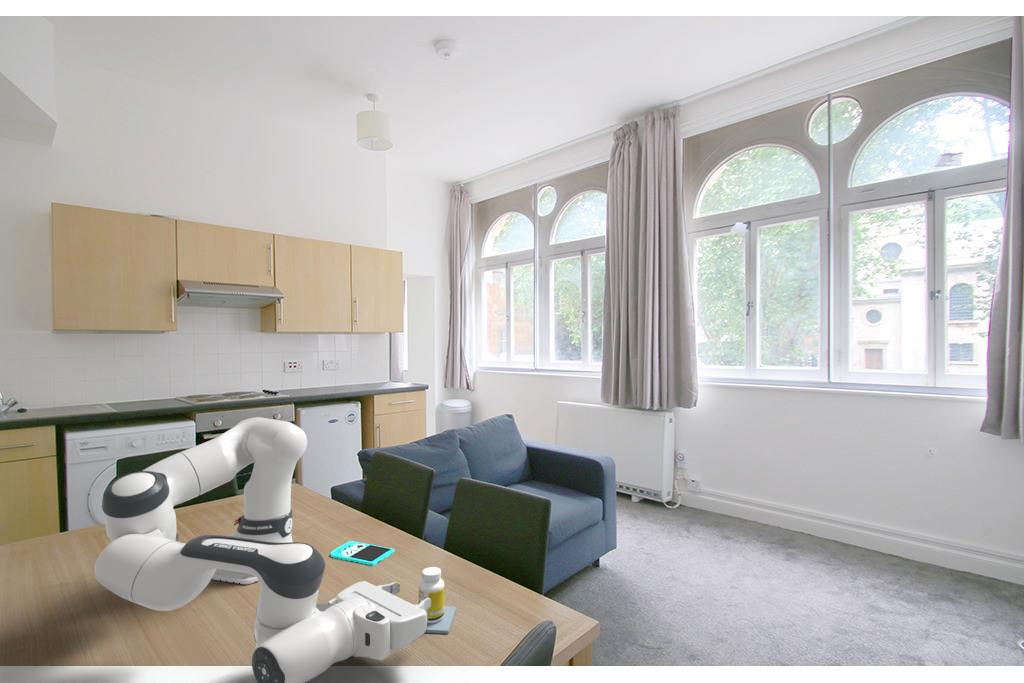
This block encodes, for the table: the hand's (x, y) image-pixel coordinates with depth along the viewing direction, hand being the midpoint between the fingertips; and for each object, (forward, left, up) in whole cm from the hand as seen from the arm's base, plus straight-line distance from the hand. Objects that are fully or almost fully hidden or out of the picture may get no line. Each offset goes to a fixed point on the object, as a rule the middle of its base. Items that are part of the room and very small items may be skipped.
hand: (412, 593), depth 98 cm
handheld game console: (-25, +36, -9) cm, 45 cm away
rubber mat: (+3, +5, -8) cm, 10 cm away
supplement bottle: (+3, +5, -8) cm, 9 cm away
